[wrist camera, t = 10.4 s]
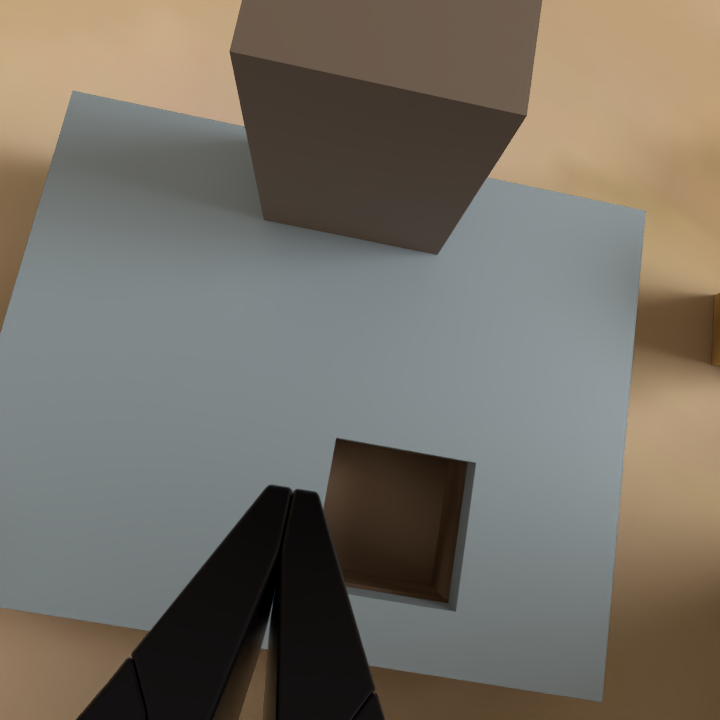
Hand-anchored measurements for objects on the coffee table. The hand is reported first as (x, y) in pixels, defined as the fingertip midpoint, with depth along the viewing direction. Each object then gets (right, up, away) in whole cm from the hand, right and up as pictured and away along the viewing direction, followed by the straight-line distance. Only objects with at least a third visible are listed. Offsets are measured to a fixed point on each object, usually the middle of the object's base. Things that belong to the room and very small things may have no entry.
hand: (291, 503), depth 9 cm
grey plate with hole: (0, +2, +10) cm, 10 cm away
